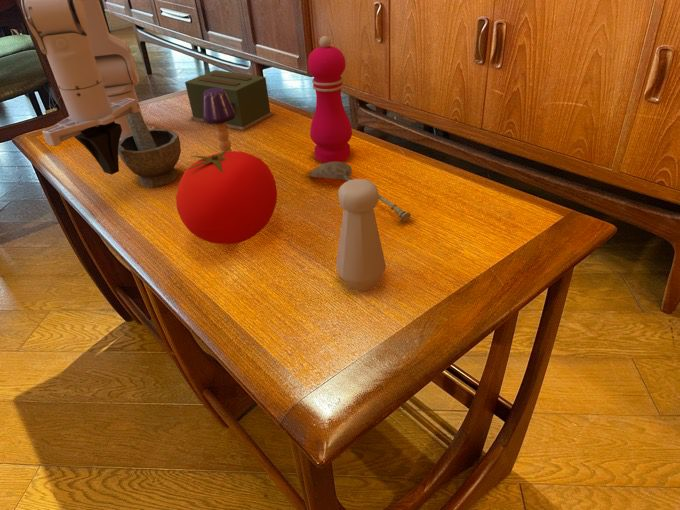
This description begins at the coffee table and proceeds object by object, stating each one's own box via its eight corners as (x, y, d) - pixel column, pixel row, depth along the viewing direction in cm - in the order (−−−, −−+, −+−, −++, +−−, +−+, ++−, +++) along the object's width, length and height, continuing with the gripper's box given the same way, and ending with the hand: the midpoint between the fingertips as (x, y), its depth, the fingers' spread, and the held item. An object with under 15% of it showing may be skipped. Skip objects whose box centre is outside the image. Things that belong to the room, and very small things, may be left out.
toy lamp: (214, 198, 79) (189, 92, 69) (236, 186, 82) (215, 82, 72) (235, 206, 77) (213, 98, 67) (257, 193, 80) (238, 87, 70)
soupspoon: (335, 167, 87) (303, 181, 84) (332, 149, 85) (300, 163, 82) (423, 214, 71) (388, 233, 69) (423, 193, 70) (386, 211, 67)
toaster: (187, 122, 107) (178, 83, 102) (222, 105, 114) (215, 68, 109) (238, 133, 100) (231, 92, 95) (272, 114, 107) (266, 76, 103)
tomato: (299, 235, 69) (289, 158, 62) (203, 272, 64) (181, 192, 57) (261, 199, 78) (249, 129, 71) (174, 229, 72) (152, 155, 66)
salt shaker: (335, 268, 63) (328, 174, 55) (381, 263, 63) (380, 169, 55) (339, 298, 58) (332, 200, 50) (389, 294, 58) (389, 195, 51)
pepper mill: (338, 168, 85) (331, 43, 73) (304, 159, 89) (291, 39, 77) (360, 152, 90) (357, 32, 78) (327, 144, 93) (319, 29, 82)
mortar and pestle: (196, 179, 85) (178, 109, 78) (141, 198, 80) (117, 126, 73) (170, 158, 92) (153, 93, 85) (119, 174, 88) (96, 107, 81)
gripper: (49, 104, 64) (87, 197, 72) (140, 72, 74) (164, 158, 82) (18, 97, 67) (58, 187, 75) (109, 67, 77) (135, 150, 85)
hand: (111, 171), depth 79 cm, fingers closed
